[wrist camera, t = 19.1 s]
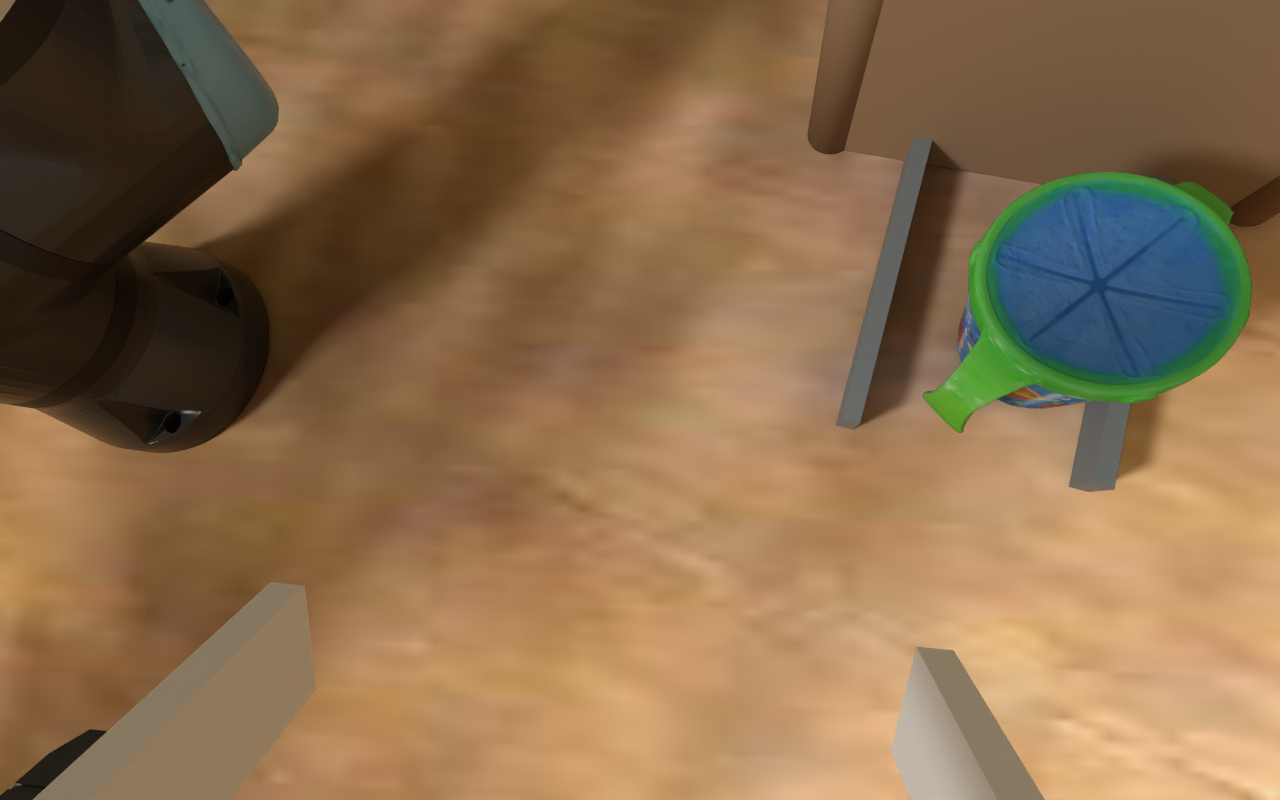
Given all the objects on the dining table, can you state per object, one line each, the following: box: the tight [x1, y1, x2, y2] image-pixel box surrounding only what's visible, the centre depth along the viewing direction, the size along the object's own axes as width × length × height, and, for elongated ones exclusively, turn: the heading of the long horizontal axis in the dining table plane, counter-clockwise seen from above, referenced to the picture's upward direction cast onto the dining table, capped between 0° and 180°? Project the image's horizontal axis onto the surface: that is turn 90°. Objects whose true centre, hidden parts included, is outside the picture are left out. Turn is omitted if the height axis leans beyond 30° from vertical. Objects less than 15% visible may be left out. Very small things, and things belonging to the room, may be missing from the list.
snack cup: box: [923, 171, 1252, 433], centre depth 32 cm, size 16×10×10 cm
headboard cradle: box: [808, 0, 1280, 492], centre depth 27 cm, size 27×20×22 cm
